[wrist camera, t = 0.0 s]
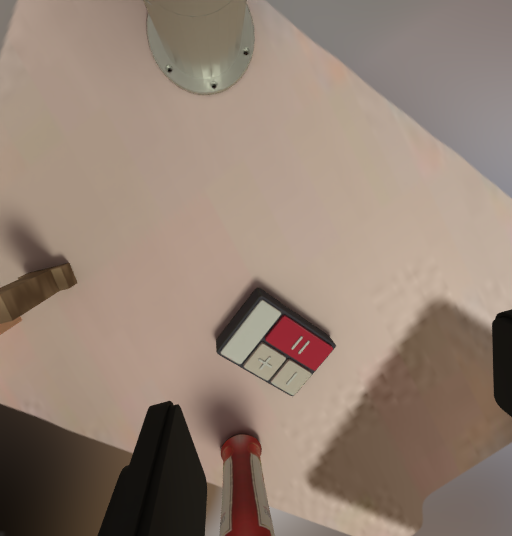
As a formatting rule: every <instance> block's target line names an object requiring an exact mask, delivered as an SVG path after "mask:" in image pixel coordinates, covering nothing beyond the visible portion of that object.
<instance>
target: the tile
mask: <svg viewBox="0 0 512 536" xmlns="http://www.w3.org/2000/svg"><path fill="white" fill-rule="evenodd" d="M20 321H22V319H21V317H20V316H19V317H18V318H16V319H15V320H13V321H10V322H6V323H2V324H0V335H1V334H2V333H4V332H5V331H7V330H8V329H10V328H11V327H13V326H14V325H16V324H17V323H19V322H20Z"/></svg>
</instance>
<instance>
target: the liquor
mask: <svg viewBox="0 0 512 536" xmlns="http://www.w3.org/2000/svg"><path fill="white" fill-rule="evenodd" d="M261 450H262V448H261V445H260V443H259V441H258V440H257V439H255V438H254V437H252V436H249V435H243V434H241V435H236V436H234V437H231V438H230V439H228V440H227V441H226V442H225V443H224V444H223V446H222V448H221V457H222V459H223V490H222V508H221V522H220V536H275V535H274V530H273V525H272V520H271V515H270V510H269V505H268V500H267V495H266V489H265V484H264V478H263V473H262V466H261V460H260V455H261Z"/></svg>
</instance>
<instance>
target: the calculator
mask: <svg viewBox="0 0 512 536" xmlns="http://www.w3.org/2000/svg"><path fill="white" fill-rule="evenodd" d="M335 347H336V345H335V343H334V342H333V341H332V339H331V338H330V337H329V336H328V335H327V334H325V333H324V332H322V331H321V330H319V329H318V328H317V327H315V326H314V325H312V324H311V323H309V322H308V321H306V320H305V319H303V318H302V317H300V316H299V315H298V314H296V313H295V312H293V311H292V310H290V309H289V308H287V307H286V306H284V305H283V304H281V303H280V302H279V301H278V300H276V299H275V298H273V297H272V296H270V295H269V294H268V293H266V292H265V291H263V290H262V289H260V288H256V289H255V290H254V292H253V293H252V294H251V296H250V297H249V298H248V299H247V301H246V302H245V303H244V305H243V306H242V307H241V308H240V310H239V311H238V312H237V314H236V315H235V316H234V318H233V319H232V320H231V321H230V323H229V324H228V325H227V327H226V328H225V329H224V330H223V332H222V333H221V334H220V336H219V337H218V338H217V340H216V348H217V354H219V355H220V356H222V357H224V358H226V359H227V360H229V361H231V362H233V363H234V364H236V365H238V366H240V367H241V368H243V369H245V370H247V371H248V372H250V373H252V374H254V375H255V376H257V377H259V378H261V379H262V380H264V381H266V382H268V383H269V384H271V385H273V386H274V387H276V388H278V389H280V390H281V391H283V392H285V393H287V394H288V395H290V396H294V395H295V394H296V393H297V392H298V391H299V389H300V388H301V387H302V386H303V385H304V384H305V382H306V381H307V380H308V379H309V378H310V377H311V375H312V374H313V373H314V372H315V371H316V370H317V368H318V367H319V366H320V365H321V364H322V362H323V361H324V360H325V359H326V358H327V357H328V355H329V354H330V353H331V352H332V351H333V350H334V348H335Z"/></svg>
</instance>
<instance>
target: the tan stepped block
mask: <svg viewBox="0 0 512 536" xmlns="http://www.w3.org/2000/svg"><path fill="white" fill-rule="evenodd" d="M18 279H19V280H17V281H14V282H12V283H10V284H8V285H6V286H3V287H1V288H0V324H2V323H6V322H10V321H13V320H15V319H16V318H18V317H19V316H21V315H23V314H24V313H26V312H27V311H29V310H30V309H32V308H33V307H35V306H37V305H38V304H40V303H41V302H43V301H44V300H46V299H48V298H49V297H51V296H52V295H54V294H55V293H57V292H59V291H61V290H65V289H69V288H71V287H72V286H74V285H75V284H77V281H76V278H75V276H74V273H73V271H72V268H71V266H70V264H69V263H67V264H63V265H59V266H55V267H51V268H47V269H43V270H39V271H35V272H30V273H28V274H25V275H23V276H21V277H19V278H18Z"/></svg>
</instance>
